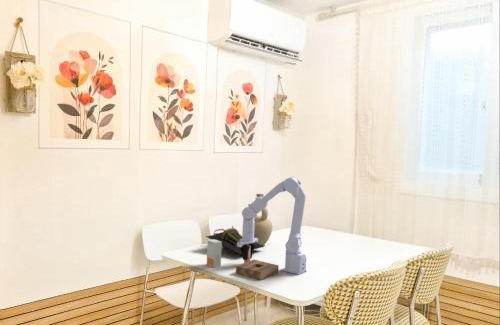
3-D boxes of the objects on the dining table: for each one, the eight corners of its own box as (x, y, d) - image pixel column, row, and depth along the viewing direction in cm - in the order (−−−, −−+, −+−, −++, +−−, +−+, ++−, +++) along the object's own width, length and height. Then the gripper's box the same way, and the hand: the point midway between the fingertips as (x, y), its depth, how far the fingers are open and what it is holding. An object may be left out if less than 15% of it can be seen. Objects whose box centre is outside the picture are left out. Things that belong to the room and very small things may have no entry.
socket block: (278, 272, 183) (278, 265, 183) (261, 280, 171) (261, 272, 171) (253, 266, 191) (253, 259, 191) (235, 273, 180) (236, 265, 179)
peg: (251, 263, 194) (252, 245, 193) (247, 265, 191) (248, 246, 191) (246, 262, 195) (247, 244, 195) (242, 263, 193) (243, 245, 193)
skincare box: (206, 264, 191) (207, 240, 190) (213, 263, 194) (214, 239, 193) (214, 267, 186) (215, 242, 186) (221, 266, 189) (222, 241, 189)
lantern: (235, 266, 202) (194, 241, 219) (259, 261, 222) (220, 238, 238) (243, 242, 201) (202, 218, 218) (267, 239, 220) (227, 217, 237)
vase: (277, 246, 234) (279, 195, 233) (254, 249, 224) (256, 196, 223) (260, 240, 247) (262, 192, 246) (238, 242, 238) (240, 193, 237)
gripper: (250, 228, 201) (249, 254, 201) (232, 232, 189) (231, 260, 190) (261, 230, 197) (260, 257, 197) (244, 234, 185) (243, 263, 186)
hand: (247, 259), depth 193 cm, fingers closed on peg, 3 cm apart
